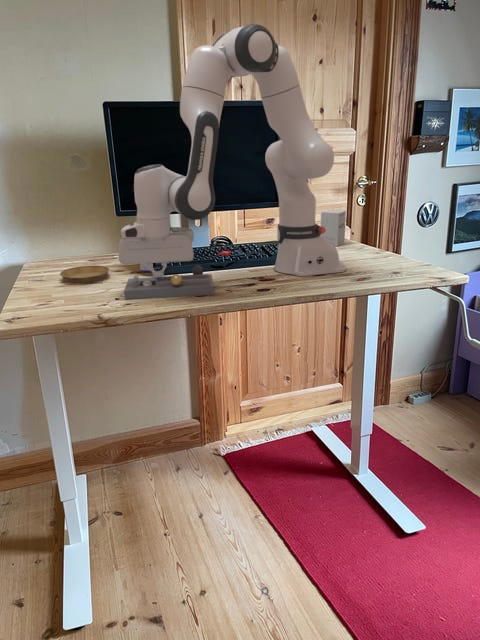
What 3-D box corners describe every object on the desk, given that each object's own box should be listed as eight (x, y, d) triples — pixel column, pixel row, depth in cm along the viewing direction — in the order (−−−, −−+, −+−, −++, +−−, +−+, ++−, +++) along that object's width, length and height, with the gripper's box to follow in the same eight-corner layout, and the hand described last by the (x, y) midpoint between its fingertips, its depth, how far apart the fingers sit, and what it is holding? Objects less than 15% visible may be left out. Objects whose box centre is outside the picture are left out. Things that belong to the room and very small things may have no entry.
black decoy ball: (203, 274, 147) (202, 263, 146) (203, 277, 144) (203, 266, 143) (192, 275, 146) (191, 264, 145) (192, 278, 143) (191, 267, 142)
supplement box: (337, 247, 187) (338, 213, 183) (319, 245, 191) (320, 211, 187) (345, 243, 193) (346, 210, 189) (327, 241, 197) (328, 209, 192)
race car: (222, 269, 162) (221, 257, 161) (207, 268, 164) (207, 256, 163) (240, 260, 173) (240, 249, 172) (226, 259, 175) (226, 247, 174)
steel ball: (154, 280, 141) (142, 278, 141) (153, 283, 138) (141, 281, 138) (152, 291, 142) (140, 289, 142) (151, 294, 139) (139, 292, 139)
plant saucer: (62, 275, 161) (61, 267, 160) (109, 271, 164) (109, 263, 163) (59, 288, 147) (58, 279, 146) (110, 283, 151) (109, 275, 150)
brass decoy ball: (182, 284, 138) (181, 272, 137) (182, 287, 135) (181, 276, 134) (171, 284, 138) (170, 273, 136) (170, 288, 135) (169, 276, 134)
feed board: (211, 282, 148) (211, 269, 146) (214, 294, 137) (213, 280, 135) (129, 286, 146) (128, 273, 144) (124, 299, 134) (123, 285, 133)
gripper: (192, 224, 138) (195, 272, 143) (117, 227, 137) (123, 276, 141) (193, 228, 133) (196, 278, 137) (114, 231, 131) (120, 282, 136)
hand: (158, 277), depth 139 cm, fingers closed
